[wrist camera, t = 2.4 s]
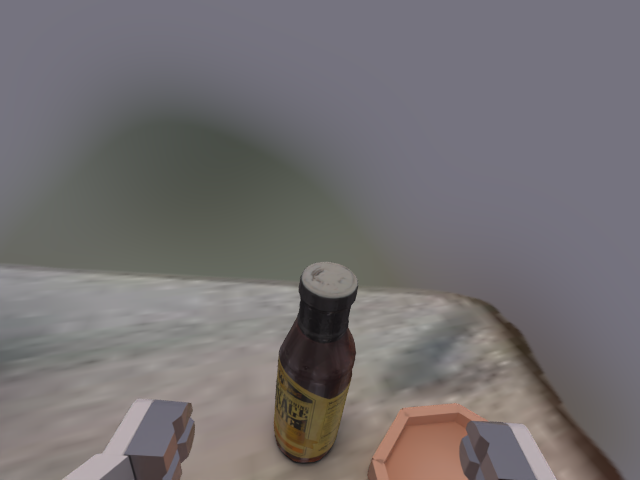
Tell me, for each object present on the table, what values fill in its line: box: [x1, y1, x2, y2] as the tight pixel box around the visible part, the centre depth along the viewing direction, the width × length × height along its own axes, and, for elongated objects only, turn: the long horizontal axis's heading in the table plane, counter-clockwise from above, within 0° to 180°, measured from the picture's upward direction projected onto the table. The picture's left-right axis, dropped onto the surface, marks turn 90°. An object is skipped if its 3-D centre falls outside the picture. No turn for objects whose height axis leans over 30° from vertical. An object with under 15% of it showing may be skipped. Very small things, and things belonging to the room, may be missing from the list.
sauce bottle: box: [274, 262, 358, 463], centre depth 29 cm, size 6×6×20 cm
